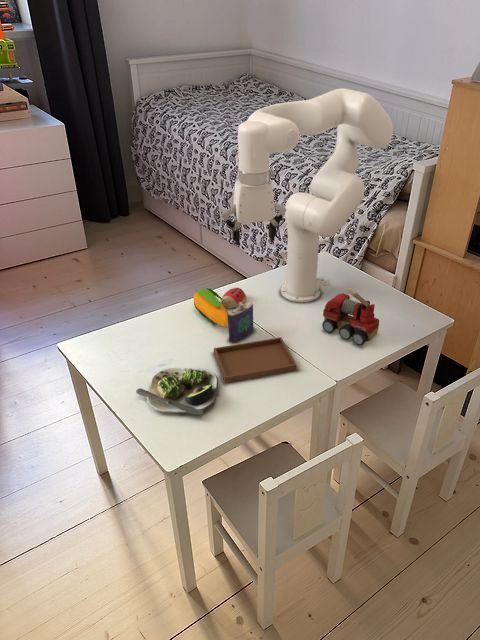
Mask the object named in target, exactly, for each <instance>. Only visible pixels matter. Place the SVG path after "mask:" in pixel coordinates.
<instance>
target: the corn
mask: <svg viewBox="0 0 480 640" xmlns="http://www.w3.org/2000/svg"><path fill="white" fill-rule="evenodd" d="M221 301H222V302H223V300H222V297H221V296H220V295H219V293H218V292H216V291H215V290H213V289H212V288H207V287H206V288H205V287H204V288H199V289H197V290H195V293H194V294H193V305H194V308H195V309H196V310H197V312H198V313H199V314H200V315H201V316H202V317H204V318H205V319H206V320H207V321H208V322H209V323H211V324H212V325H215V324H217V325H218V326H221V327H224V328H228V316H227V315H228V312H229V311H228V310H227V308H225V307H224V306H223V305H222V304H221ZM223 303H224V302H223Z"/></svg>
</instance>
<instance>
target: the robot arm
mask: <svg viewBox="0 0 480 640" xmlns="http://www.w3.org/2000/svg"><path fill="white" fill-rule="evenodd" d="M336 127H337V128H336ZM333 128H336V129H337V131H336V143H335V148H334V151H333V153H332V154H331V156H330V157H329V158H328V159H327V161H326V162H325V163H324V164H323V166H321V168H320V169H319V170H318V171H317V172H316V174H315V175H314V177H313V178H312V180H311V182H310V185H309V187H310V189H309V190H310V192H311V194H310V193H308V192H304V191H303V192H301V191H299V192H294V193H293V194H291V196H289V197H288V199H287V201H286V203H285V206H284V205H281V204H279V203H277V202H275V198H274V197H275V196H274V188H273V183H272V180H271V177H274V176H275V170H273V169H270V155H271V154H281V153H288V152H290V151H292V150H293V149H294V148H295V147H296V146H297V145H298V143H299V140H300V135H302V136H317V135H321V134H322V133H325V132H327V131H329V130H331V129H333ZM393 134H394V125H393V122H392V119H391V117H390V116H389V115H388V113H387V112H386V111H385V109H384V108H383V107H382V105H381V104H380V103H379V101H378V100H377V99H376V98H375V97H374V96H373V95H371V94H369V93H368V92H363V91H358V90H354V89H351V88H342V87H341V88H336V89H333V90H331V91H328V92H325V93H323V94H321V95H318V96H315V97H313V98H310V99H305V100H295V101H289V102H281V103H274V104H270V105H267V106H264V107H261V108H259V109H257V110H255V111H254V112H252V113H251V114H250V116H249V117H248V118H247V120H246V121H244V122H241V123H240V124H239V126H238V128H237V155H238V157H237V158H238V179H237V180H236V181H235V184H234V190H233V205H232V206H230V207H228V208H227V209H226V210H223V211H222V212H221V213H220V216H221V218H222V219H223V220H224V222H225V224H226V226H227V227H229V228H230V229H231V235H232V237H231V238H232V241H233V242H235V244H236V245H237V246H239V245H240V244H241V243H240V242H241V241H240V240H241V239H240V238H241V237H240V230H239V228H240V227H241V225H242V224H252V223H261V222H263V223H264V222H268V221H269V223H268V238H269V239H270V241H271V242H275V237H277V227H278V226H279V223H280V222H281V221H282V220H283V219H284V216H285V221H286V222H285V223H286V231H287V248H286V276H285V282H284V283H283V284H282V285H281V286H280V294H281V296H283V298H285V299H286V300H288V301H291V302H296V303H308V302H309V303H310V302H312V301H316V300H317V299H318V298H319V297H320V295H321V289H322V288H323V287H330V286H331V283H332V282H331V280H330V279H324V277H323V276H322V277H317V275H318V264H319V249H320V238H319V236H320V237H323V238H332V237H333V236H335V235H336V234H338V232H339V231H340V230H341V229H342V228H343V226H344V225H345V224H346V223H347V221H348V220H349V219H350V218H351V216H352V215H353V214H354V212H355V211H356V210H357V209H358V208H359V206H360V204H361V202H362V200H363V197H364V196H365V195H364V194H365V183H364V180H363V179H362V178H361V177H360V176H358V175H356V172H357V171H358V169H359V166H360V157H359V152H358V151H359V150H358V145H361V146H364V147H369V148H371V149H375V150H381V149H384V148H386V147H387V146H388V145H389V144H390V143H391V140H392V138H393V136H394V135H393ZM275 210H277V211H278V213H276V215H275ZM232 215H233V217H234V218H233V220H231V219H230V216H232Z"/></svg>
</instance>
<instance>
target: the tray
mask: <svg viewBox="0 0 480 640" xmlns="http://www.w3.org/2000/svg"><path fill="white" fill-rule="evenodd" d="M213 355H214V358H215V360H216V363H217V366H218V368H219V370H220V373H221V376H222V378H223V381H224V384H230V383H235V382H239V381H246V380H251V379H257V378H261V377H267V376H273V375H280V374H283V373H284V374H285V373H291V372H296V371H297V368H298V364H297V363H296V361H295V359H294V357H293V356H292V353H291V352H290V350H289V348H288V346H287V345H286V343H285V341H284V339H283V338H282V337H281V336H280V337H275V338H268V339H261V340H256V341H249V342H243V343H238V344H231V345H225V346H218V347H213Z"/></svg>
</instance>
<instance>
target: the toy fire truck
mask: <svg viewBox="0 0 480 640" xmlns="http://www.w3.org/2000/svg"><path fill="white" fill-rule="evenodd" d="M346 291H347V292H348V294H347V293H337V294H336V295H335V296H333V297H332V298H331V299H330V300H328V301H327V302H326V303H325V306H324V309H323V311H322V317H324V319H323V322H322V325H321V326H322V329H323V330H324V331H325V333H328V334H332V333H334V332H335V331H336V330H337V331H338V334H339V335H338V336H339V337H340V338H341V339H342V340H345V341H348V340H352V343H353V344H355V345H356V346H359V347H361V346H364V345H365V344H366V343H368V342H371V341H372V340H373V339H374V338H375V337H376V336H377V335H378V332H379V326H380V319H379V318H378V317H375V303H371V301H370V300H366V299H365V298H363V297H362V296H361V295H360V294H359V293H358V292H356V291H355V290H354V289H353V288H351V287H348V288H347V289H346ZM350 295H351V296H352V297H354V298H355V299H356V300H352V299H351V296H350Z"/></svg>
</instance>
